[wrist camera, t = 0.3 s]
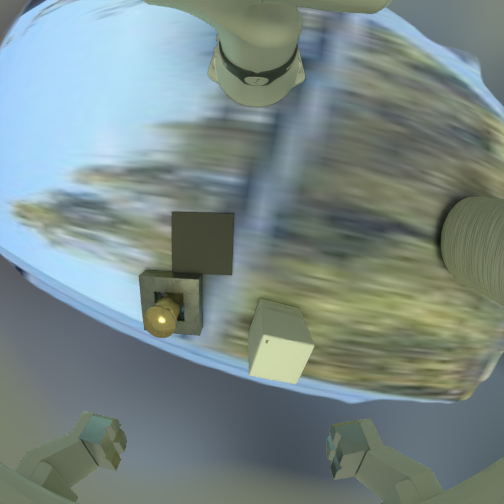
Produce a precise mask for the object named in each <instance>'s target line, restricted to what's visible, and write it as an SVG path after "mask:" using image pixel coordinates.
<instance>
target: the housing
mask: <svg viewBox="0 0 504 504" xmlns="http://www.w3.org/2000/svg"><path fill="white" fill-rule="evenodd" d="M139 283H140V295H141V305H142V315H143V316H144V314H145V312H146V311H147V310H148V309H149V308H150V307H151V306H153V305H156V303H157V302H158V301H159V299H160V298H161V294H160V292H168V293H182V294H183V296H184V313H183V312H180V313H179V315H178V317H177V326H176V328H175V330H174V332H173V333H176V334H187V335H199V336H200V334H201V331H202V328H203V311H202V274H197V273H179V272H172V271H156V270H145V271H144V272H143V273H142V274H140V275H139ZM144 330H146V328H145V326H144Z"/></svg>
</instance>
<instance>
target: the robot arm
mask: <svg viewBox="0 0 504 504" xmlns="http://www.w3.org/2000/svg"><path fill="white" fill-rule="evenodd" d="M142 1H144V2H145V3H147V4H149V5H157V6H164V7H170V8H174V9H178V10H181V11H184V12H187V13H189V14H191V15H194V16H196V17H198V18H199V19H201V20H203V21H205V22H206V23H208V24H209V25H211V26H212V27H213V28H214V29H215V30H216V31H217V37H216V41H218V44H217V46H216V47H215V49H214V55H213V58H212V61H211V64H210V67H209V70H208V77H209V78H210V79H211V80H213V81H215V82H216V83H218V84H219V85H220V86H221V87H222V89H223V90H224V91H225V93H226V94H227V95H228V96H229V97H230V98H231V99H233V100H234V101H236V102H238V103H240V104H243V105H246V106H252V107H262V106H268V105H271V104H274V103H276V102H278V101H279V100H281V99H282V98H284V97H285V96H286V95H287V93H288V92H289V91H290V90H291V89H292V88H293V87H295V86H297V85H299V84H301V83H303V82H304V80H305V73H304V69H303V64H302V60H301V56H300V52H299V48H298V44H297V42H298V39H299V36H300V33H301V31H302V17H301V14H300V12H299V10H298V9H297V7H303V8H311V9H317V10H323V11H330V12H349V13H366V14H374V13H377V12H378V11H380V10H382V9H384V8H385V7H386V6H388V5H389V4H390V3H391V2H392V1H393V0H142ZM214 69H215V70H214ZM299 72H300V73H299ZM120 426H121V424H120V422H119V420H118V419H115V418H110V417H106V416H103V415H98V414H95V413H91V412H87V411H85V412H83V413H82V415H81V416H80V418H79V419H78V421H77V422H76V424H75V425H74V427H73V428H72V430H71V432H70V433H69V435H63V436H61V437H59V438H57V439H55V440H53V441H51V442H49V443H47V444H44V445H42V446H40V447H37V448H35V449H33V450H31V451H28V452H26V454H25V455H24V457H23V458H22V460H21V461H20V463H19V464H18V466H17V467H16V469H15V470H12V469H11V468H9V467H8V466H6V465H4V464H3V463H1V462H0V504H79V503H76V501H77V499H78V496H77V495H76V493H75V492H73V490H72V489H71V488H70V487H72V486H73V485H74V484H76V483H78V482H79V481H80V480H82V479H83V478H85V477H86V476H87V475H89V474H90V473H91V472H93V471H94V470H96V469H97V468H98V466H99V467H103V468H107V469H111V470H115V471H116V470H117V468H118V465H119V463H120V461H121V459H120V456H119V455H120V454H122V453H123V452H124V451H125V448H126V443H127V440H126V435H125V433H124V431H122V430H121V429H120ZM329 431H330V436H329V437H328V438H327V443H326V450H327V456H328V459H329V460H331V461H332V464H331V471H332V475H333V478H334V480H335V479H342V478H348V477H353V476H355V478H357V479H358V480H359V481H360V482H361V483H363V484H364V485H365V486H366V487H368V488H369V489H370V490H371V491H373V492H374V493H375V494H376V495H378V496H379V497H380V498H381V499H383V500H384V501H383V503H382V504H504V457H502V458H501V459H500V460H498V461H497V462H495V463H494V464H492V465H491V466H489V467H488V468H486V469H484V470H483V471H481V472H480V473H478V474H476V475H475V476H473V477H471V478H469V479H468V480H466V481H464V482H462V483H460V484H459V485H457V486H455V487H453V488H451V489H449V490H447V491H445V492H443V490H442V488H441V486H440V484H439V483H438V481H437V479H436V477H435V475H434V473H433V471H432V470H431V469H429V468H427V467H426V466H424V465H422V464H419V463H418V462H416V461H414V460H412V459H410V458H408V457H406V456H405V455H403V454H401V453H399V452H397V451H396V450H394V449H392V448H390V447H389V446H385V447H384V446H383V443H382V441H381V439H380V437H379V435H378V433H377V431H376V429H375V427H374V424H373V422H372V420H371V419H370V418H367V419H362V420H357V421H350V422H345V423H339V424H333V425H331V427H330V430H329Z"/></svg>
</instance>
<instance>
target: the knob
mask: <svg viewBox="0 0 504 504" xmlns="http://www.w3.org/2000/svg"><path fill="white" fill-rule="evenodd" d="M183 306H184V296H183V294H182V293H168V292H165V293H164V294H163V295H162V297H161V298H160V299H159V301H158V302H157V303H156V305H153V306H151V307H150V308H149V309H148V310H147V311H146V312H145V314H144V316H143V323H144V326H145V328H146V330H147V331H148V332H149V333H150V334H152V335H153V336H155V337H159V338H166V337H169V336H170V335H172V334H173V332H174V330H175V328H176V326H177V317H178V315H179V313H180V312H181V310H182V308H183Z"/></svg>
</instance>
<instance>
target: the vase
mask: <svg viewBox="0 0 504 504" xmlns="http://www.w3.org/2000/svg"><path fill="white" fill-rule="evenodd" d="M441 252H442V257H443V261H444V263H445V265H446V267H447V269H448V270H449V272H450V273H451V274H452V275H453V276H454V277H455V278H457V279H458V280H460V281H461V282H463V283H465V284H466V285H468V286H470V287H472V288H473V289H475V290H477V291H478V292H480V293H482V294H484V295H485V296H487V297H489V298H490V299H492V300H494V301H496V302H497V303H499V304H501V305H503V306H504V200H503V199H496V198H488V197H467V198H465V199H462V200H461V201H459V202H458V203H457V204H456V205H455V206H454V207H453V208H452V209H451V210H450V212H449V213H448V215H447V217H446V219H445V222H444V224H443V228H442V232H441Z"/></svg>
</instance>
